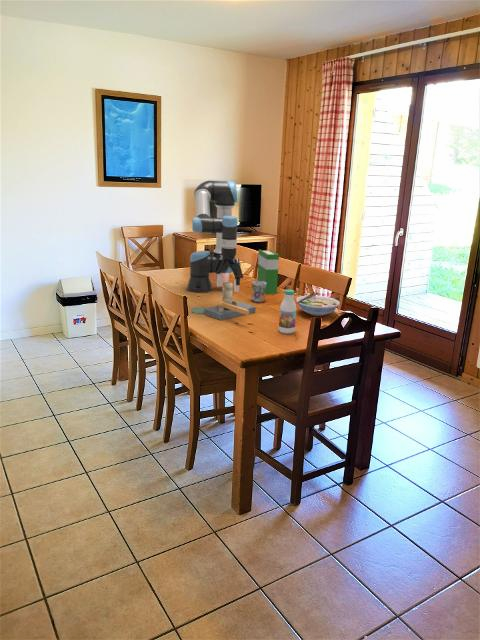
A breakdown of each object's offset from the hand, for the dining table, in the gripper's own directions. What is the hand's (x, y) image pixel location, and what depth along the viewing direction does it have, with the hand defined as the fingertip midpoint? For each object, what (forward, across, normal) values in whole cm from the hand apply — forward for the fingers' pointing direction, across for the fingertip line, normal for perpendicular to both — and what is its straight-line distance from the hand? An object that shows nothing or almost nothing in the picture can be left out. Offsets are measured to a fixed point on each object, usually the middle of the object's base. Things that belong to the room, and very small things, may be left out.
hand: (227, 288), depth 258 cm
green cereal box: (+13, -23, +52) cm, 59 cm away
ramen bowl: (+13, +29, +38) cm, 50 cm away
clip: (+7, +12, -6) cm, 15 cm away
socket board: (+13, +1, +1) cm, 13 cm away
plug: (+13, 0, 0) cm, 13 cm away
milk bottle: (+14, +39, +4) cm, 41 cm away
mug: (+13, -9, +31) cm, 35 cm away
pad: (+13, -10, -10) cm, 19 cm away
